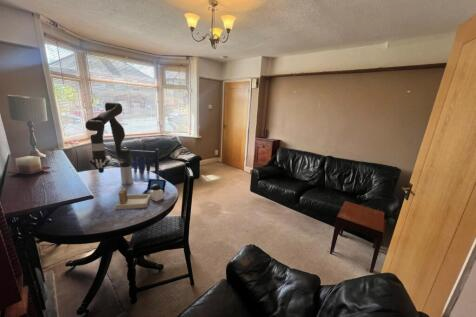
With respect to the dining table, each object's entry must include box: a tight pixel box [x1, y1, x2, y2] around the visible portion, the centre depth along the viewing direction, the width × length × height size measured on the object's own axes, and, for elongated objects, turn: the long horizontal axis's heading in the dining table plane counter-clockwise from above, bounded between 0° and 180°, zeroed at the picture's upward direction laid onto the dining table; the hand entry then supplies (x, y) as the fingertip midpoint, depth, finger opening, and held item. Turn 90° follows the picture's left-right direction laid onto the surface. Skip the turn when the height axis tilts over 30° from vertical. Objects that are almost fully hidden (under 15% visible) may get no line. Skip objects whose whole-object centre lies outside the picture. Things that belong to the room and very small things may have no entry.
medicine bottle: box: [150, 184, 164, 202], centre depth 162 cm, size 7×7×12 cm
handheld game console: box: [142, 178, 167, 194], centre depth 175 cm, size 16×13×9 cm
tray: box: [114, 193, 151, 210], centre depth 155 cm, size 17×21×3 cm
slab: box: [118, 188, 128, 204], centre depth 152 cm, size 8×3×10 cm, turn 12°
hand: (101, 172), depth 145 cm, fingers closed
